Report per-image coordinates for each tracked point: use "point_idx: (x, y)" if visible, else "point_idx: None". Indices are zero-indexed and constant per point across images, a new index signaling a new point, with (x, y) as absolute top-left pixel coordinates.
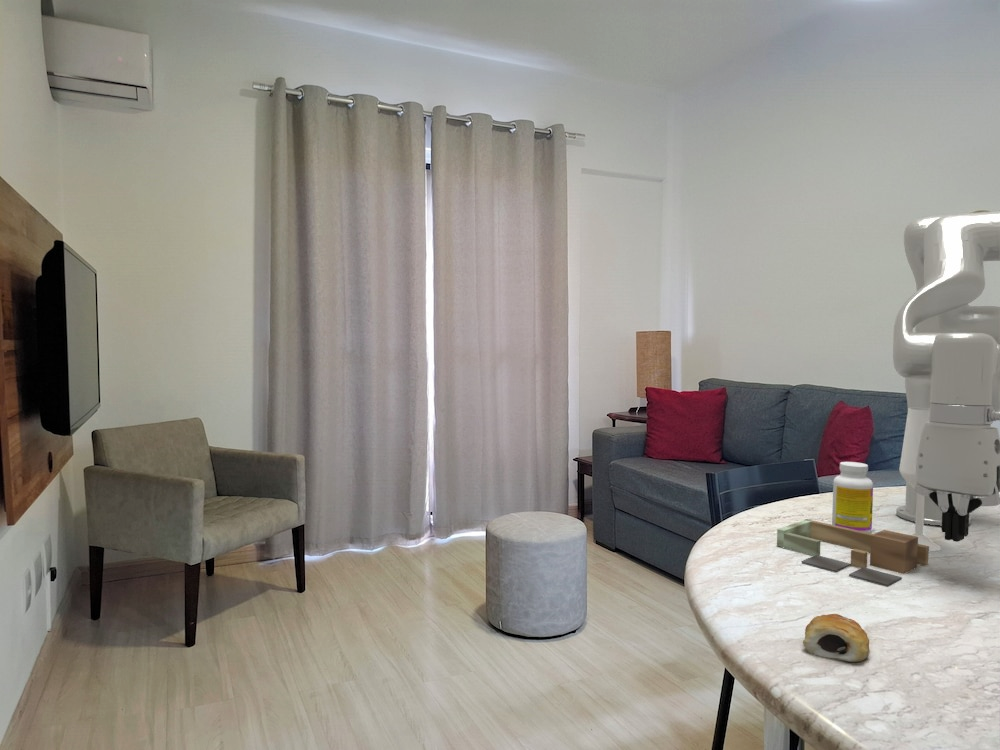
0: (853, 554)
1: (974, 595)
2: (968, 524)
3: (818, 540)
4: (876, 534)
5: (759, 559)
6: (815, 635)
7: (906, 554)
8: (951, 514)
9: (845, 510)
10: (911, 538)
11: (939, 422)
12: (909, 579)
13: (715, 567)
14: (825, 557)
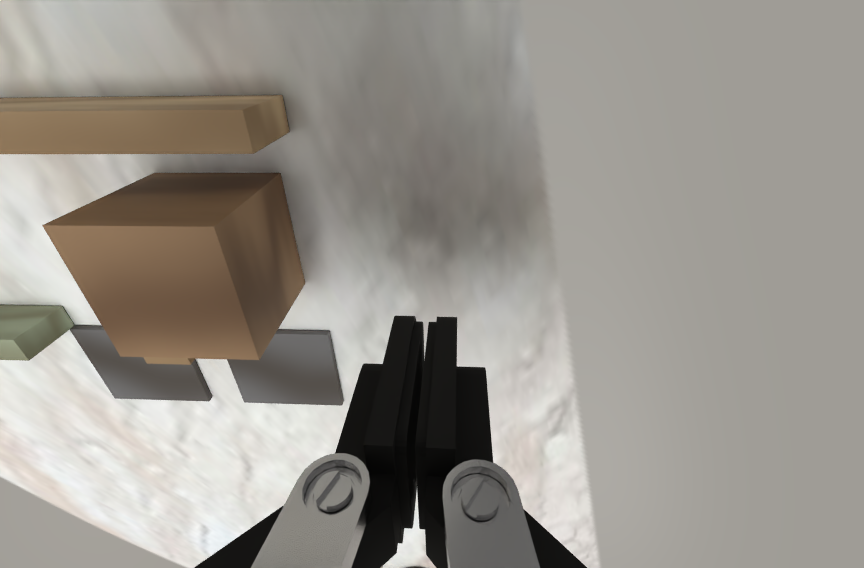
0: None
1: (519, 311)
2: (488, 411)
3: (12, 345)
4: (116, 332)
5: (67, 431)
6: None
7: (277, 310)
8: (408, 527)
9: None
10: (222, 281)
11: None
12: (342, 315)
13: (101, 507)
14: (101, 332)
